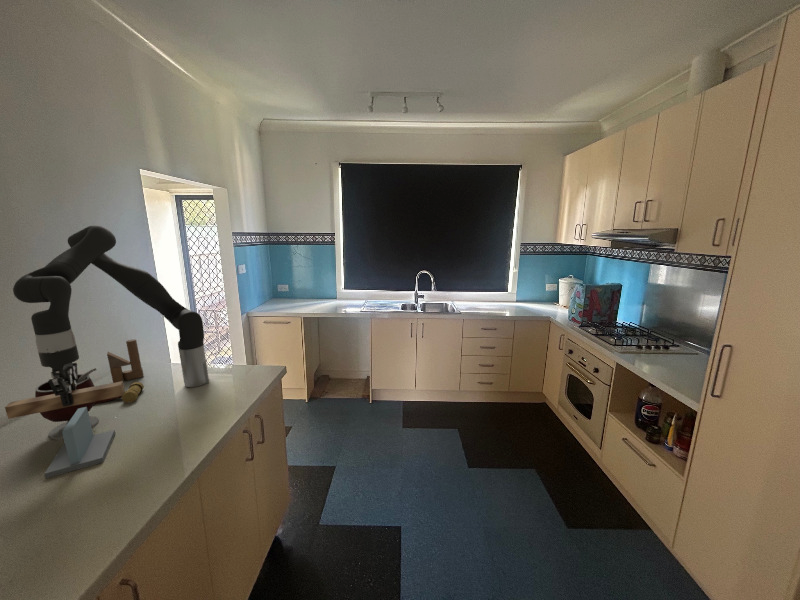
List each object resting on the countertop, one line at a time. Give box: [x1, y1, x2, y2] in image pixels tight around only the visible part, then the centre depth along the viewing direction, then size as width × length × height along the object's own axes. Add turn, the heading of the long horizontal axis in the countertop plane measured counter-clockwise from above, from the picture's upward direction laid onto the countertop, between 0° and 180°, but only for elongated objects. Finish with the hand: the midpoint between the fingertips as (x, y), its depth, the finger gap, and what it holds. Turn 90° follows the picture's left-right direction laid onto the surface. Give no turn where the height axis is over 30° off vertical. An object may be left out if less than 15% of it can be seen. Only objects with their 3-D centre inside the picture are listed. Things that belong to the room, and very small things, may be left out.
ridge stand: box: [43, 407, 116, 479], centre depth 97 cm, size 12×16×12 cm
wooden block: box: [106, 338, 144, 383], centre depth 146 cm, size 4×11×18 cm, turn 128°
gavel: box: [94, 381, 144, 405], centre depth 129 cm, size 21×5×10 cm
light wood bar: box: [4, 381, 126, 420], centre depth 94 cm, size 24×3×4 cm, turn 121°
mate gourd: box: [34, 367, 100, 440], centre depth 109 cm, size 16×14×20 cm
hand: (70, 402), depth 94 cm, fingers closed on light wood bar, 3 cm apart
